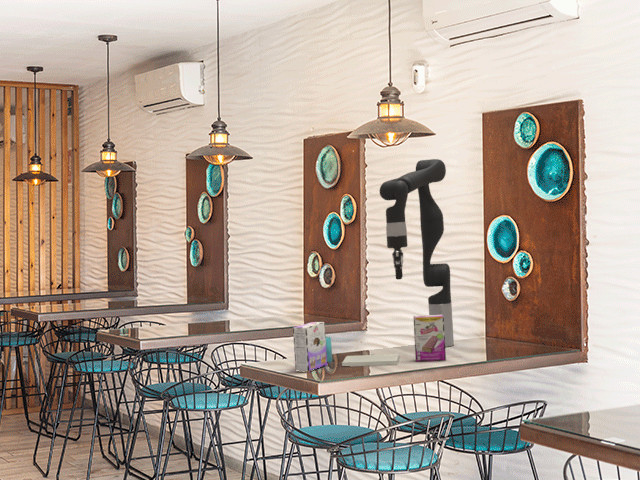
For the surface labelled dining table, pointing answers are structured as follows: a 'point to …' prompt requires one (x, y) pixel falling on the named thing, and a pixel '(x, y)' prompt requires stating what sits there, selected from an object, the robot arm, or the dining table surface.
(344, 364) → the plain white board
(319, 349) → the candy box
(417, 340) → the candy bar box
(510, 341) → the dining table surface
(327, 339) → the teal rounded cylinder
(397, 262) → the robot arm
